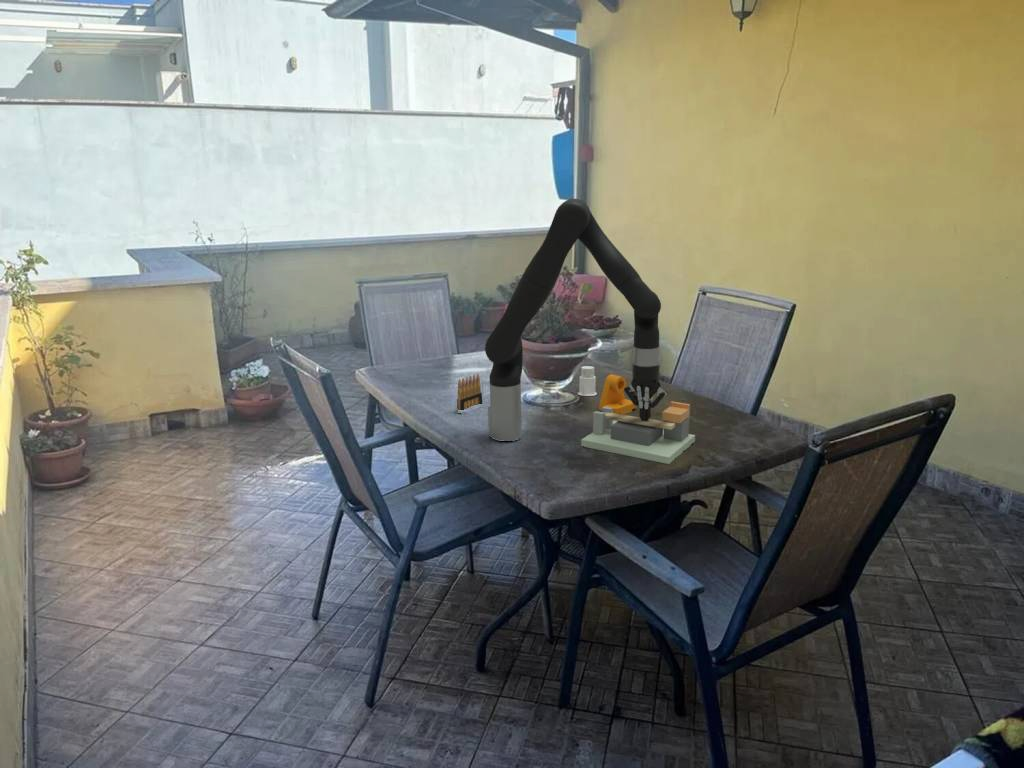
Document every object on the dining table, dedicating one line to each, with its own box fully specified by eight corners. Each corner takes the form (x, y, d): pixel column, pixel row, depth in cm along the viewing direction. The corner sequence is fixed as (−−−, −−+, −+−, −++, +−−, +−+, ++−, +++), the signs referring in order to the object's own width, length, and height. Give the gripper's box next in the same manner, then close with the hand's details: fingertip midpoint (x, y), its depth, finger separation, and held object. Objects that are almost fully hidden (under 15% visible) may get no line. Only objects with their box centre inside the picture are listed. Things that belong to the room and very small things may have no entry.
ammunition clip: (461, 414, 239) (459, 380, 236) (457, 413, 241) (455, 379, 237) (482, 406, 247) (481, 373, 244) (478, 405, 248) (477, 372, 245)
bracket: (615, 417, 233) (616, 381, 230) (599, 412, 239) (599, 377, 235) (637, 409, 240) (637, 375, 237) (620, 405, 245) (621, 371, 242)
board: (581, 446, 209) (581, 418, 206) (611, 426, 225) (612, 400, 222) (668, 464, 194) (670, 434, 192) (694, 441, 210) (696, 414, 208)
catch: (662, 420, 205) (662, 407, 204) (671, 413, 210) (671, 401, 209) (680, 423, 202) (681, 410, 201) (689, 416, 207) (689, 404, 206)
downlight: (591, 398, 253) (592, 370, 251) (573, 395, 257) (574, 368, 254) (600, 393, 260) (601, 366, 258) (582, 390, 263) (583, 364, 261)
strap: (598, 418, 213) (598, 413, 213) (603, 415, 215) (603, 410, 215) (671, 430, 201) (671, 425, 200) (675, 427, 203) (675, 422, 203)
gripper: (618, 362, 202) (618, 420, 207) (663, 367, 195) (661, 427, 200) (630, 356, 208) (629, 413, 213) (673, 361, 201) (671, 419, 206)
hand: (645, 420), depth 206 cm, fingers closed
